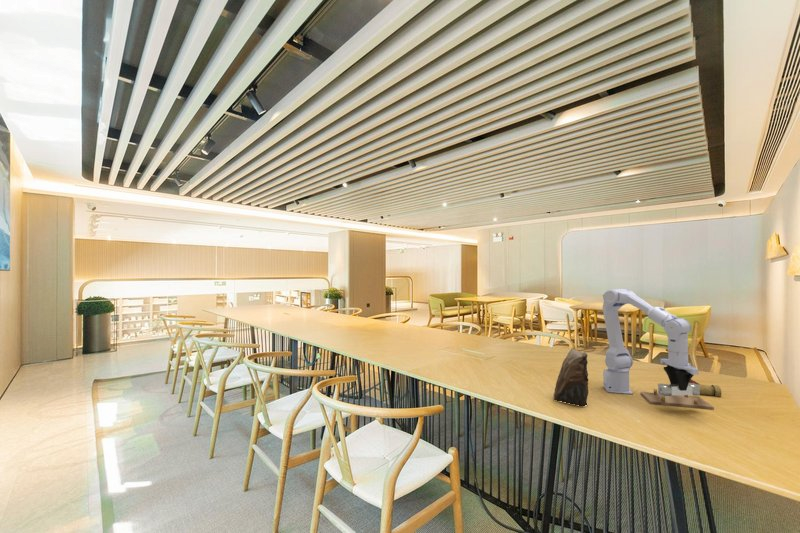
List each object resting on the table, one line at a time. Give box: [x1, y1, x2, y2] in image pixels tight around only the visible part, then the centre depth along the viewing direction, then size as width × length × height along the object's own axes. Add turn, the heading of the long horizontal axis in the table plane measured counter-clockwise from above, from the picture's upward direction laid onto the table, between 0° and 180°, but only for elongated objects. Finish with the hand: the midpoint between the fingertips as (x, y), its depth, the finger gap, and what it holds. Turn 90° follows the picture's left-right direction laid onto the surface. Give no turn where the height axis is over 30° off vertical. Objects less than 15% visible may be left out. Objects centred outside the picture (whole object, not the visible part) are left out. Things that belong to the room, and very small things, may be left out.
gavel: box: [689, 378, 723, 398], centre depth 150 cm, size 21×5×10 cm
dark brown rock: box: [553, 347, 589, 407], centre depth 137 cm, size 13×13×20 cm
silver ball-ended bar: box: [657, 383, 701, 396], centre depth 126 cm, size 14×4×3 cm, turn 91°
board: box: [639, 388, 715, 411], centre depth 135 cm, size 20×11×3 cm, turn 72°
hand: (678, 388), depth 126 cm, fingers closed on silver ball-ended bar, 3 cm apart
